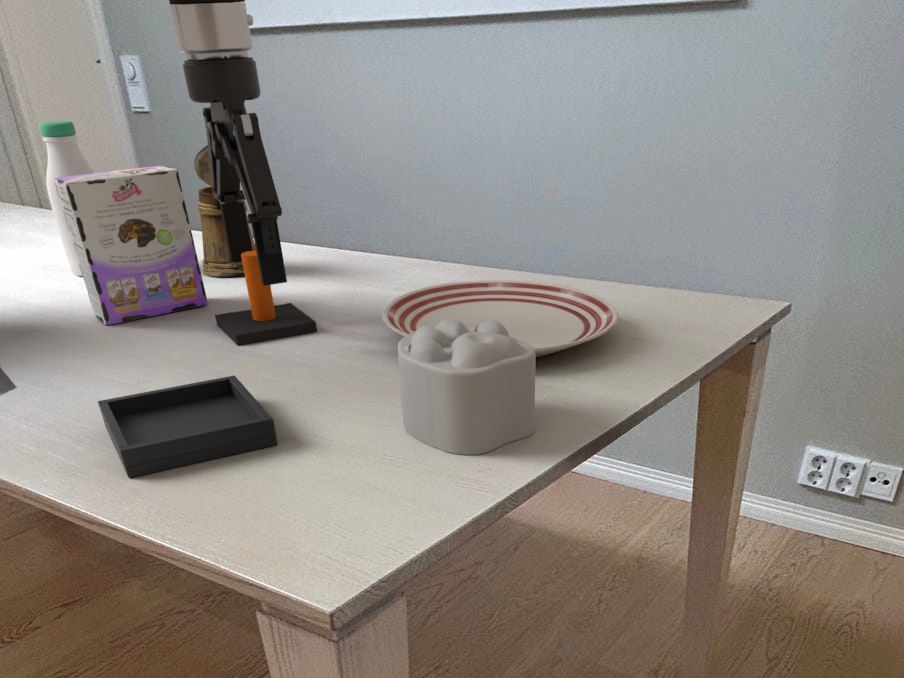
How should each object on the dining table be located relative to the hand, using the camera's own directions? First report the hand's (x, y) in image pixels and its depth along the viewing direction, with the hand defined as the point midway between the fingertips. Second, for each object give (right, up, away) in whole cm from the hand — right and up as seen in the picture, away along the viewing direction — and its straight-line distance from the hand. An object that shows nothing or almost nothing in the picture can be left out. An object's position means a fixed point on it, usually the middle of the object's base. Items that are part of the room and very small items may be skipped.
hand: (258, 271), depth 99 cm
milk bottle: (-33, +13, +30) cm, 47 cm away
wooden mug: (-11, +12, +27) cm, 31 cm away
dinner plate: (+29, -8, -1) cm, 30 cm away
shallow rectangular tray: (0, -25, -22) cm, 34 cm away
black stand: (0, -5, +4) cm, 7 cm away
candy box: (-17, 0, +11) cm, 21 cm away
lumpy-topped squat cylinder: (+25, -24, -22) cm, 41 cm away
